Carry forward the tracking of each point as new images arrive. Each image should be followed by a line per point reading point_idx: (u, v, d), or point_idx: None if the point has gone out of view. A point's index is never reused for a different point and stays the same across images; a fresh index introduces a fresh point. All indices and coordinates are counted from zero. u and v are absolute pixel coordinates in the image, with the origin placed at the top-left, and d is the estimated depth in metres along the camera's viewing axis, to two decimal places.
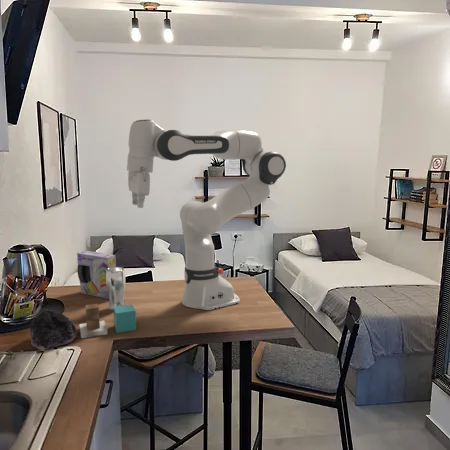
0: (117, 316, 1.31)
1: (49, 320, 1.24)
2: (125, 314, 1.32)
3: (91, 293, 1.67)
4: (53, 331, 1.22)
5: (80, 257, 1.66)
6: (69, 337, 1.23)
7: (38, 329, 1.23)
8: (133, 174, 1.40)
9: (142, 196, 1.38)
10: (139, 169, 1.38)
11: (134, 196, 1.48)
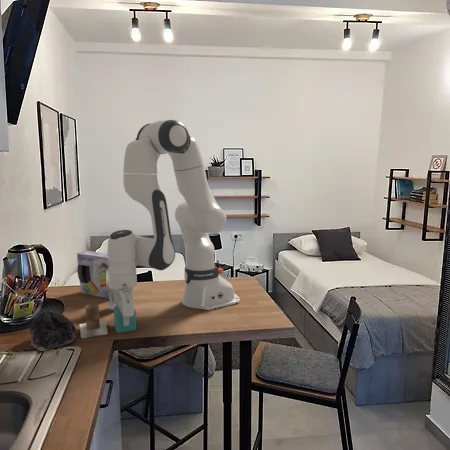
0: (117, 316, 1.31)
1: (49, 321, 1.23)
2: None
3: (91, 293, 1.67)
4: (53, 332, 1.21)
5: (80, 257, 1.66)
6: (69, 338, 1.23)
7: (38, 330, 1.22)
8: (116, 291, 1.31)
9: None
10: (121, 287, 1.29)
11: None
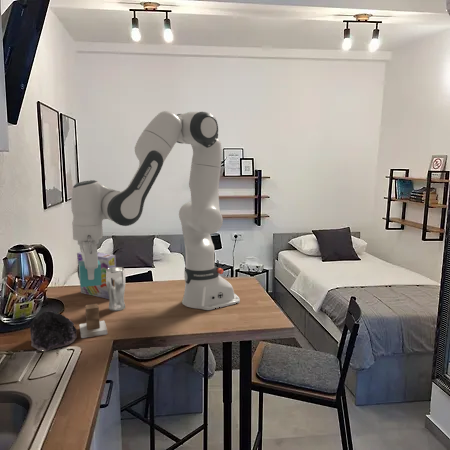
0: (81, 269, 1.25)
1: (49, 321, 1.23)
2: None
3: (91, 293, 1.67)
4: (54, 332, 1.21)
5: (80, 257, 1.66)
6: (70, 338, 1.22)
7: (38, 330, 1.22)
8: (80, 243, 1.25)
9: None
10: (85, 238, 1.23)
11: None
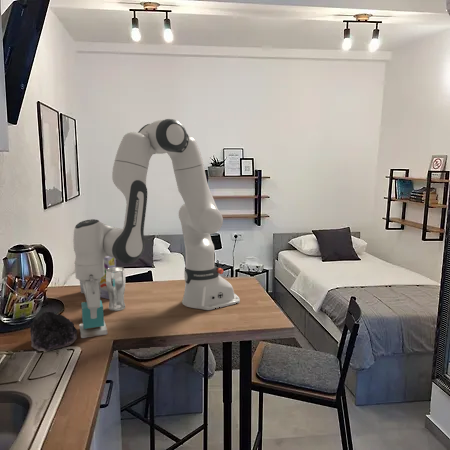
0: (84, 312, 1.28)
1: (50, 322, 1.22)
2: None
3: None
4: (54, 333, 1.20)
5: None
6: (70, 339, 1.22)
7: (39, 331, 1.21)
8: (82, 282, 1.27)
9: None
10: (87, 277, 1.25)
11: None
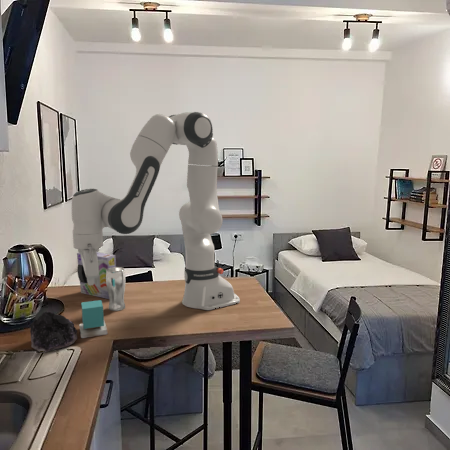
0: (84, 312, 1.28)
1: (50, 322, 1.22)
2: (92, 310, 1.29)
3: (91, 293, 1.67)
4: (54, 333, 1.20)
5: (80, 257, 1.66)
6: (70, 339, 1.22)
7: (39, 331, 1.21)
8: (80, 251, 1.26)
9: None
10: (86, 247, 1.24)
11: None
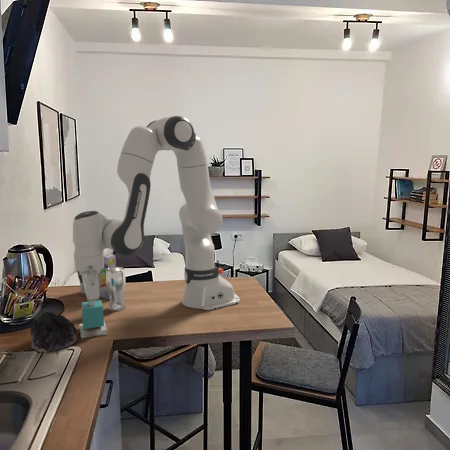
0: (84, 312, 1.28)
1: (50, 322, 1.22)
2: (92, 310, 1.29)
3: None
4: (54, 333, 1.20)
5: None
6: (70, 339, 1.22)
7: (39, 332, 1.21)
8: (81, 273, 1.27)
9: None
10: (87, 269, 1.25)
11: None
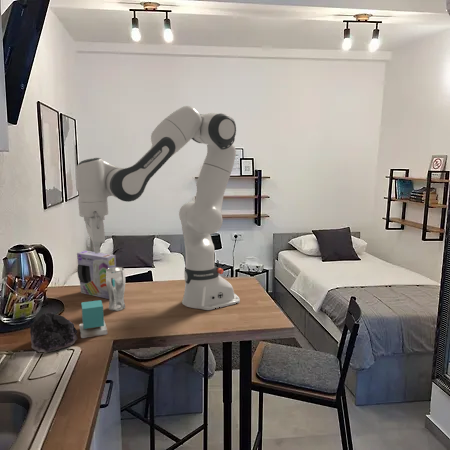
0: (84, 312, 1.28)
1: (50, 323, 1.22)
2: (92, 310, 1.29)
3: (91, 293, 1.67)
4: (54, 334, 1.20)
5: (80, 257, 1.66)
6: (70, 340, 1.21)
7: (39, 332, 1.20)
8: (86, 220, 1.28)
9: None
10: (92, 214, 1.26)
11: None
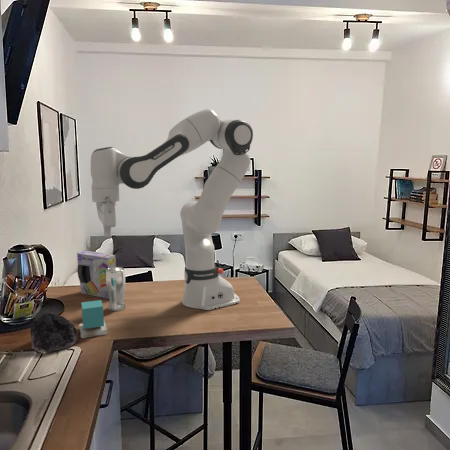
0: (84, 312, 1.28)
1: (50, 323, 1.21)
2: (92, 310, 1.29)
3: (91, 293, 1.67)
4: (54, 334, 1.20)
5: (80, 257, 1.66)
6: (71, 340, 1.21)
7: (39, 332, 1.20)
8: (99, 205, 1.35)
9: None
10: (104, 200, 1.33)
11: (105, 227, 1.40)
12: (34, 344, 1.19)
